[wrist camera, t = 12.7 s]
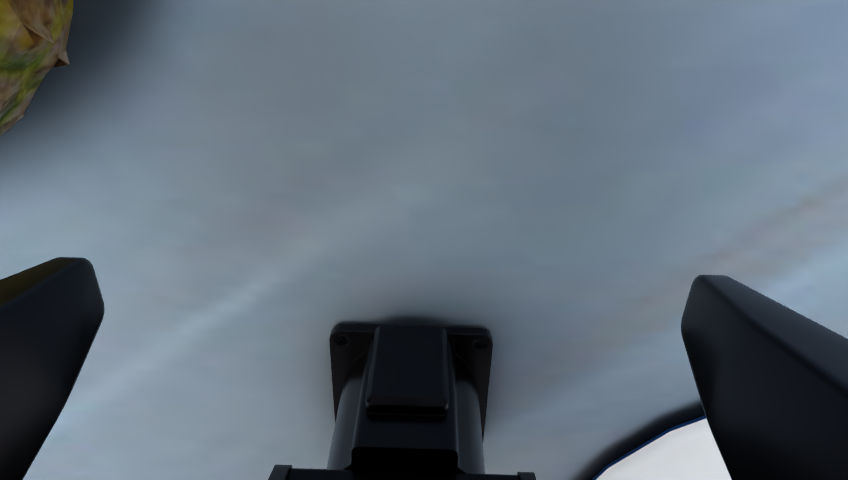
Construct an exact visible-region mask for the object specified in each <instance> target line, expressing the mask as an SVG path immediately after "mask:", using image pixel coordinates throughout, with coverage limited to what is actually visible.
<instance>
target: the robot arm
mask: <svg viewBox="0 0 848 480" xmlns="http://www.w3.org/2000/svg"><path fill="white" fill-rule="evenodd" d="M103 316H104V302H103V298H102V295H101V292H100V288H99V285H98V281H97V278H96V275H95V271H94V268H93V266H92V264H91V262H90V261H89V260H87V259H85V258H75V257H59V258H55V259H52V260H50V261H47V262H45V263H42V264H40V265H37V266H35V267H32V268H29V269H27V270H24V271H22V272H19V273H17V274H14V275H12V276H9V277H7V278H4V279H2V280H0V480H23V478H24V476H25V475H26V473H27V471H28V469H29V468H30V466H31V464H32V462H33V461H34V459H35V457H36V455H37V454H38V452H39V450H40V448H41V447H42V445H43V443H44V441H45V440H46V438H47V436H48V434H49V433H50V431H51V429H52V427H53V426H54V424H55V422H56V421H57V419H58V417H59V415H60V413H61V411H62V409H63V408H64V406H65V404H66V402H67V399H68V397H69V395H70V393H71V391H72V389H73V387H74V384H75V382H76V380H77V377H78V375H79V373H80V371H81V368H82V366H83V364H84V361H85V359H86V357H87V354H88V352H89V350H90V348H91V345H92V343H93V341H94V338H95V336H96V334H97V331H98V329H99V327H100V325H101V322H102V320H103ZM681 333H682V338H683V341H684V345H685V348H686V351H687V355H688V358H689V362H690V365H691V369H692V372H693V375H694V379H695V382H696V386H697V389H698V392H699V396H700V399H701V403H702V406H703V409H704V412H705V416H706V419H707V422H708V424H709V427H710V429H711V432H712V435H713V437H714V439H715V442H716V444H717V447H718V449H719V451H720V454H721V456H722V458H723V461H724V463H725V465H726V468H727V470H728V472H729V475H730V477H731V479H732V480H848V339H847V338H845V337H843V336H841V335H839V334H837V333H835V332H833V331H831V330H829V329H828V328H826V327H824V326H822V325H820V324H818V323H816V322H814V321H812V320H810V319H808V318H806V317H805V316H803V315H801V314H799V313H797V312H795V311H793V310H791V309H789V308H787V307H785V306H783V305H782V304H780V303H778V302H776V301H774V300H772V299H770V298H768V297H766V296H764V295H762V294H760V293H759V292H757V291H755V290H753V289H751V288H749V287H747V286H745V285H743V284H741V283H739V282H737V281H736V280H734V279H732V278H730V277H728V276H723V275H699V276H698V277H696V278H695V279H694V281H693V283H692V286H691V289H690V292H689V296H688V299H687V303H686V306H685V310H684V313H683V317H682V321H681ZM341 335H342V336H345V337H347V339H340V338H339V337H338V336H341ZM480 339H481V340H484V342H482V343H476V342H475V341H476V340H480ZM492 347H493V343H492V336H491V334H490V332H489V331H487V330H486V329H482V328H454V327H424V326H389V325H349V324H342V325H337V326H335V327H334V328H333V329H332V331H331V335H330V354H331V369H332V383H333V397H334V412H335V428H334V433H333V439H332V444H331V449H330V454H329V460H328V465H327V469H300V468H292V465H275V466H274V468H273V470H272V472H271V475H270V477H269V479H268V480H536V477H535V474H534V472H517V475H500V474H485V466H484V454H483V437H484V427H485V417H486V407H487V397H488V387H489V377H490V367H491V357H492Z"/></svg>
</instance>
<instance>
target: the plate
mask: <svg viewBox="0 0 848 480" xmlns="http://www.w3.org/2000/svg"><path fill="white" fill-rule="evenodd" d="M592 480H732V479H731V477H730V475H729V472H728V470H727V468H726V465H725V463H724V461H723V458H722V456H721V454H720V451H719V449H718V447H717V444H716V442H715V439H714V437H713V435H712V432H711V429H710V427H709V424H708V422H707V419H706V416H702V417H699V418H696V419H694V420H691V421H688V422H685V423H683V424H680V425H677V426H674V427H672V428H669V429H667V430H666V431H664V432H662V433H661V434H659V435H657V436H656V437H654V438H652V439H650V440H649V441H647V442H645V443H644V444H642V445H640V446H639V447H637V448H635V449H634V450H632V451H630V452H629V453H627V454H625V455H623V456H622V457H620V458H618V459H617V460H615V461H613V462H612V463H610V464H608V465H607V466H606V467H605V468H604V469H603V470H602V471H601V472H599V473H598V474H597V475H596V476H595V477H594V478H593V479H592Z"/></svg>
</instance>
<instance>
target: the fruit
mask: <svg viewBox="0 0 848 480" xmlns="http://www.w3.org/2000/svg"><path fill="white" fill-rule="evenodd" d="M72 15H73V0H0V136H1V135H2V134H4V133H5V132H6V131H8V130H9V129H10V128H11V127H12V126H13V125H14V124H15V123H16V122H17V121H18V120H20V119H22V118H23V117H24V114H25V111H26V109H27V107H28V106H29V104H30V102H31V100H32V98H33V96H34V95H35V93H36V91H37V89H38V87H39V85H40V84H41V82H42V80H43V78H44V76H45V75H46V74H47V73H48V72H49V71H50V69H52V68H53V67H58V66H64V65H70V64H69V60H68V56H67V52H66V46H67V41H68V36H69V31H70V25H71V20H72Z"/></svg>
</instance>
